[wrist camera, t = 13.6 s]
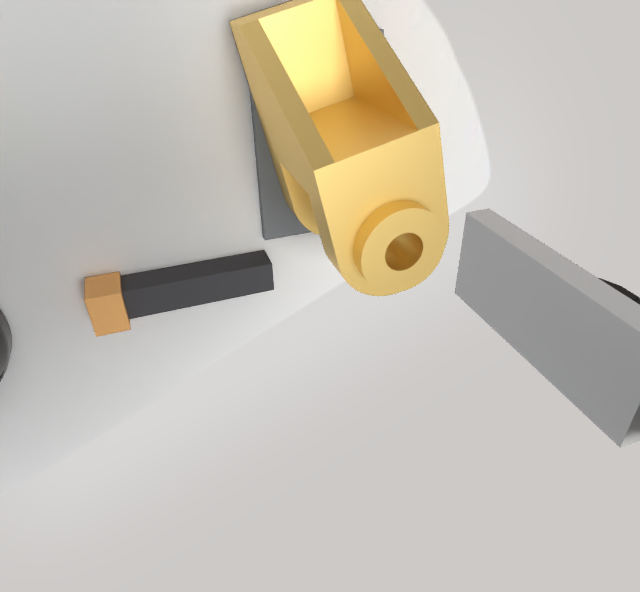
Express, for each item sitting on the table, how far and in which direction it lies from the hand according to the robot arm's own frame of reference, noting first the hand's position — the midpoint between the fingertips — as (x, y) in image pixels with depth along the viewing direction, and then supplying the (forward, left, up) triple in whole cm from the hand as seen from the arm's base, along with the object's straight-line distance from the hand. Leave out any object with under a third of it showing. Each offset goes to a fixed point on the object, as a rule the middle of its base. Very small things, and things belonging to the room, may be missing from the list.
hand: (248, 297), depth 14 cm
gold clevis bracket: (+14, -5, -34) cm, 37 cm away
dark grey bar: (-1, -19, -35) cm, 40 cm away
